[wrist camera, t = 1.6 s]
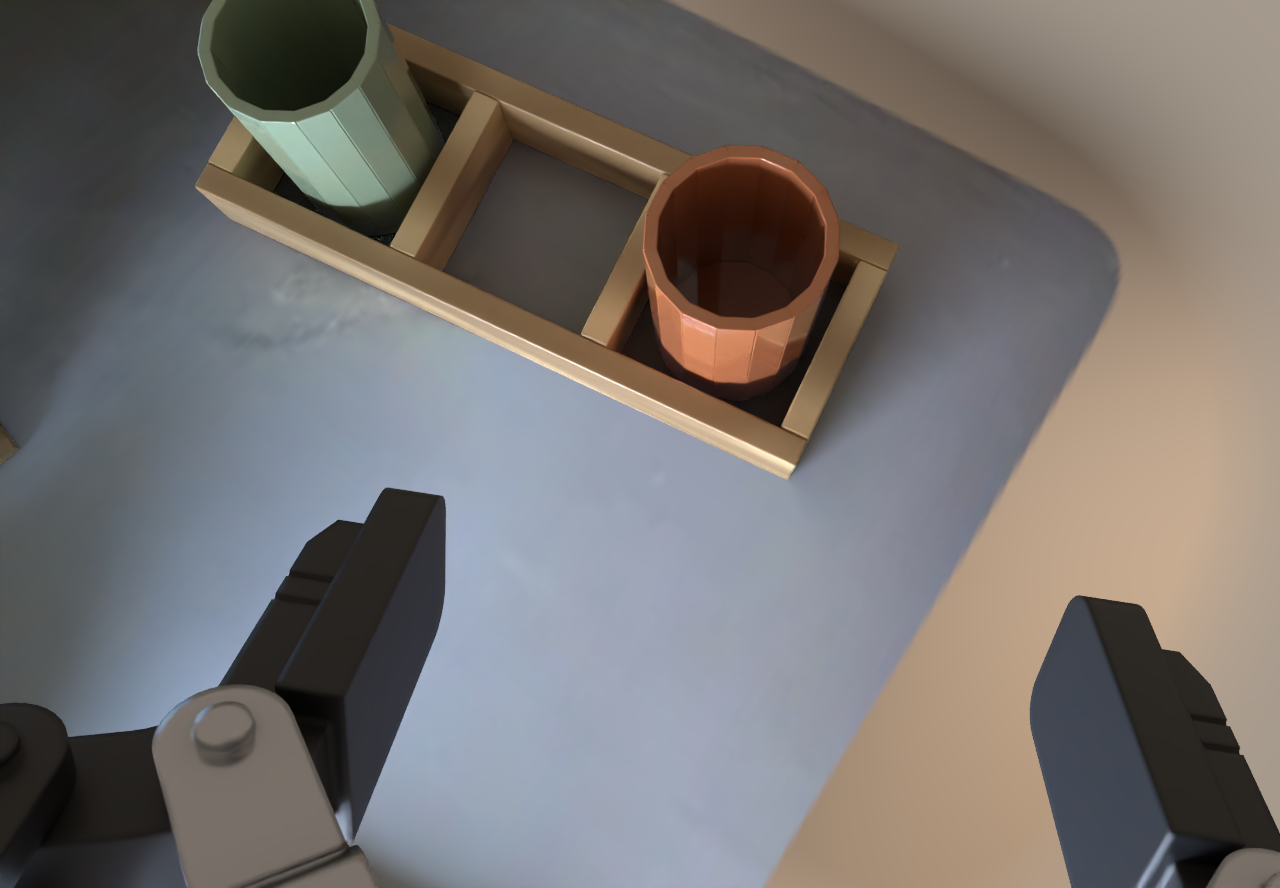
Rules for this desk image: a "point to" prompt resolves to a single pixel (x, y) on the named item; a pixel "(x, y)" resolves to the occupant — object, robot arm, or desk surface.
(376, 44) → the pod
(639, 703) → the desk surface
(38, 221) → the desk surface
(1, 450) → the eiffel tower
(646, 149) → the pod rack
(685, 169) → the brown cylindrical cup
